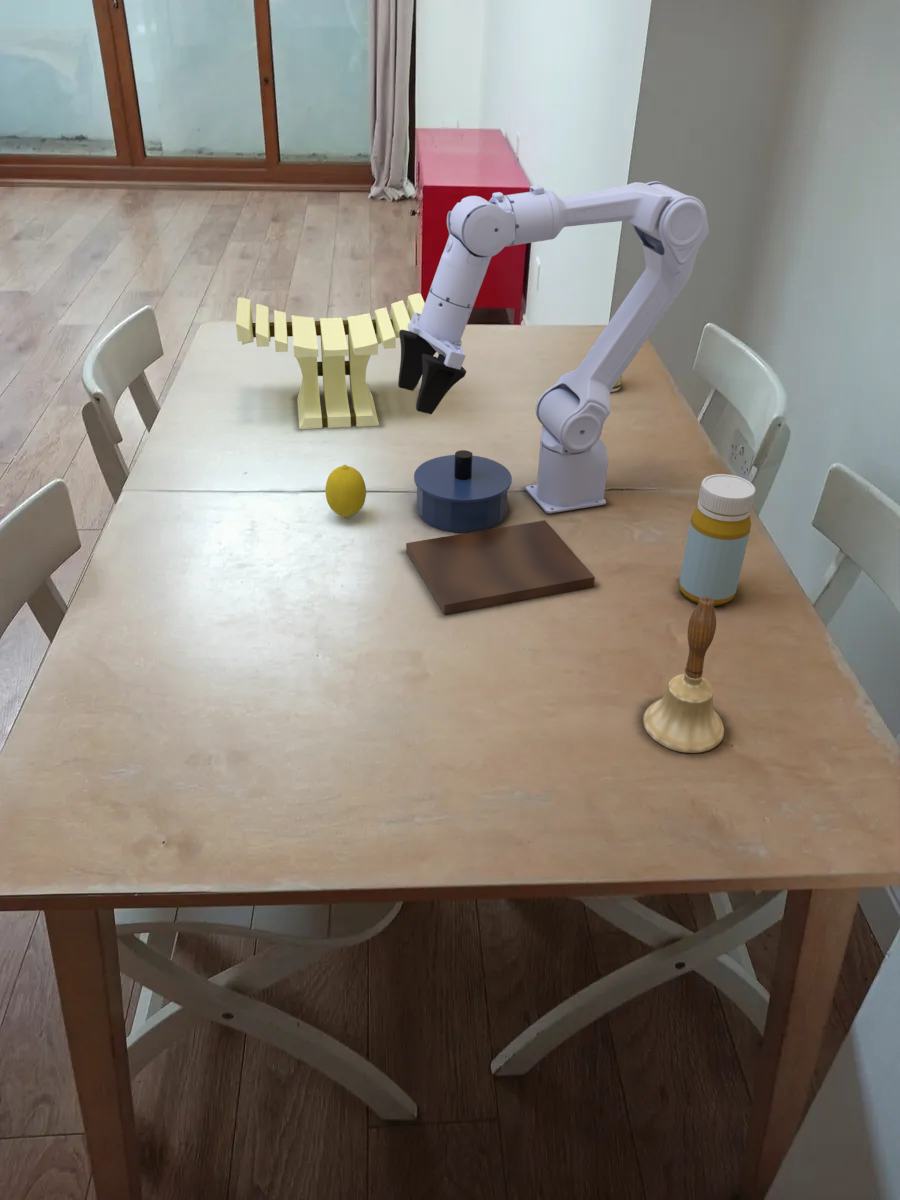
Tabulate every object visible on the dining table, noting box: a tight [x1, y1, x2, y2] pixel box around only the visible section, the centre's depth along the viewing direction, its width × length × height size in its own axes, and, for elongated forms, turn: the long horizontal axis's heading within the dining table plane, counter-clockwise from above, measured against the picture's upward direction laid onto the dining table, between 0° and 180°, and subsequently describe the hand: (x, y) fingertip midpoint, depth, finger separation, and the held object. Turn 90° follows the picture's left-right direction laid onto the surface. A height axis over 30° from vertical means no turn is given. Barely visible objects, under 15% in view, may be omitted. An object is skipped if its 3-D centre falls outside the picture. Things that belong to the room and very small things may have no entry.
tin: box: [416, 486, 509, 534], centre depth 137 cm, size 13×13×5 cm
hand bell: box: [642, 597, 725, 754], centre depth 97 cm, size 8×8×16 cm
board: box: [405, 519, 596, 616], centre depth 125 cm, size 20×15×2 cm
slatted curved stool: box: [235, 292, 425, 430], centre depth 161 cm, size 30×16×18 cm, turn 99°
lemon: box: [325, 464, 367, 519], centre depth 133 cm, size 6×6×8 cm
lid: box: [413, 449, 513, 503], centre depth 134 cm, size 14×14×4 cm
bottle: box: [678, 473, 756, 607], centre depth 118 cm, size 7×7×15 cm
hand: (414, 399), depth 126 cm, fingers open, 7 cm apart
